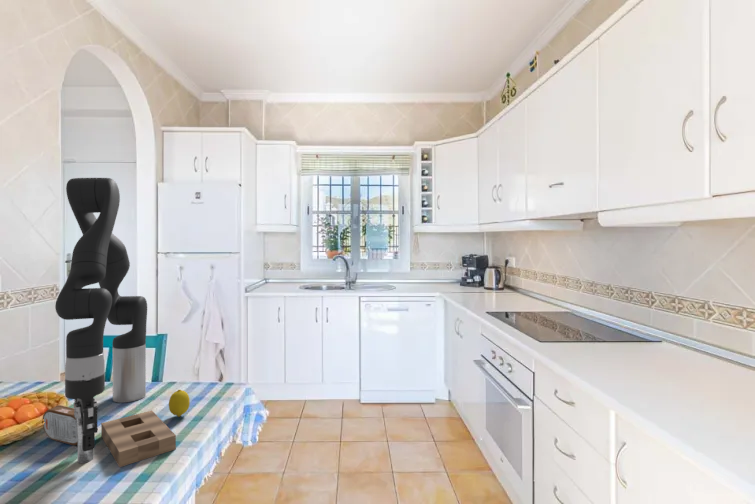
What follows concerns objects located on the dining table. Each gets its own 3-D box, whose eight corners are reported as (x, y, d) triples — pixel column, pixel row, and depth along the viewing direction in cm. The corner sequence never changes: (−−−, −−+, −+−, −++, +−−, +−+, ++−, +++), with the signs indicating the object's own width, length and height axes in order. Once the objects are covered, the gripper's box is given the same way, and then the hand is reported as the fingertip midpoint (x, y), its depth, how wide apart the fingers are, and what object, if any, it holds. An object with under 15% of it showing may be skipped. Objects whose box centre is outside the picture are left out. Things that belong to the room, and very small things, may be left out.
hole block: (101, 436, 106) (101, 423, 106) (151, 422, 115) (151, 410, 115) (119, 467, 92) (119, 452, 92) (175, 449, 100) (175, 435, 100)
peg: (76, 459, 95) (76, 417, 95) (92, 455, 97) (91, 413, 97) (78, 464, 93) (78, 421, 93) (94, 459, 95) (94, 417, 95)
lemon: (181, 421, 116) (181, 393, 115) (164, 419, 117) (164, 392, 116) (193, 413, 121) (193, 387, 121) (177, 411, 122) (177, 385, 122)
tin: (93, 443, 103) (93, 410, 103) (80, 449, 100) (80, 415, 100) (53, 433, 108) (52, 402, 107) (39, 439, 105) (39, 406, 104)
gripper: (60, 369, 97) (61, 437, 97) (69, 385, 87) (70, 461, 87) (98, 363, 102) (98, 428, 103) (110, 377, 92) (111, 449, 92)
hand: (85, 443), depth 95 cm, fingers open, 7 cm apart
